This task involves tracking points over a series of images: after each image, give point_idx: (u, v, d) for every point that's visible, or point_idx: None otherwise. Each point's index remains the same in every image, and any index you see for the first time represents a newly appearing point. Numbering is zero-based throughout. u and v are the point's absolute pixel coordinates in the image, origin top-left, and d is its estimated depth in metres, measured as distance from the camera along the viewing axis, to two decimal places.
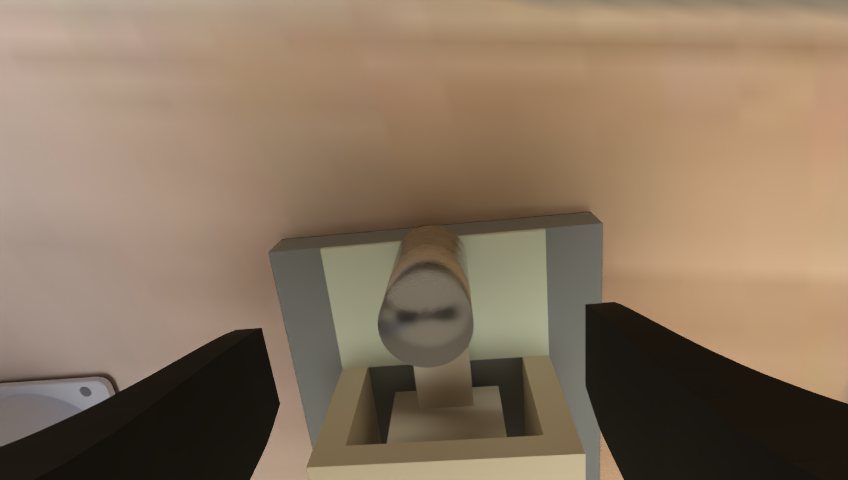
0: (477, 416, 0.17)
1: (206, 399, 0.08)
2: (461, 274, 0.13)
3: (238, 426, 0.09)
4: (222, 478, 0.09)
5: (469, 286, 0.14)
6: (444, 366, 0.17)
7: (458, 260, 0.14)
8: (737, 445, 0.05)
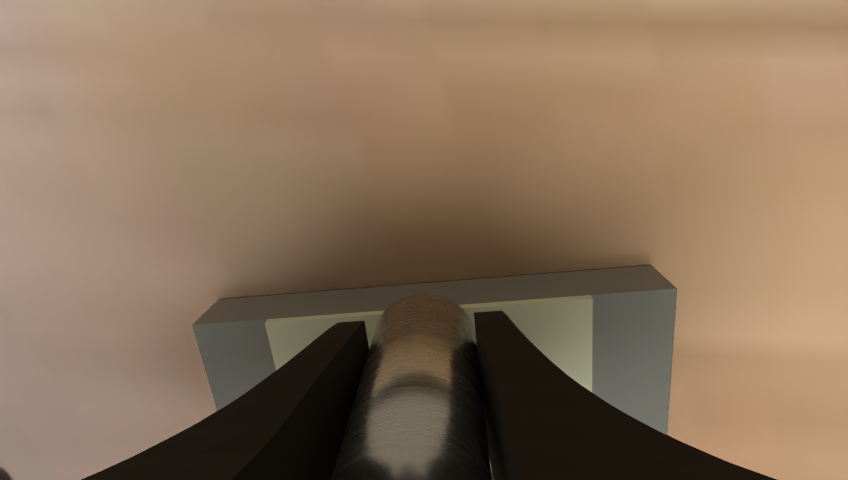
0: None
1: (335, 391, 0.08)
2: (472, 403, 0.08)
3: None
4: None
5: (484, 414, 0.08)
6: None
7: (466, 368, 0.09)
8: (510, 456, 0.05)
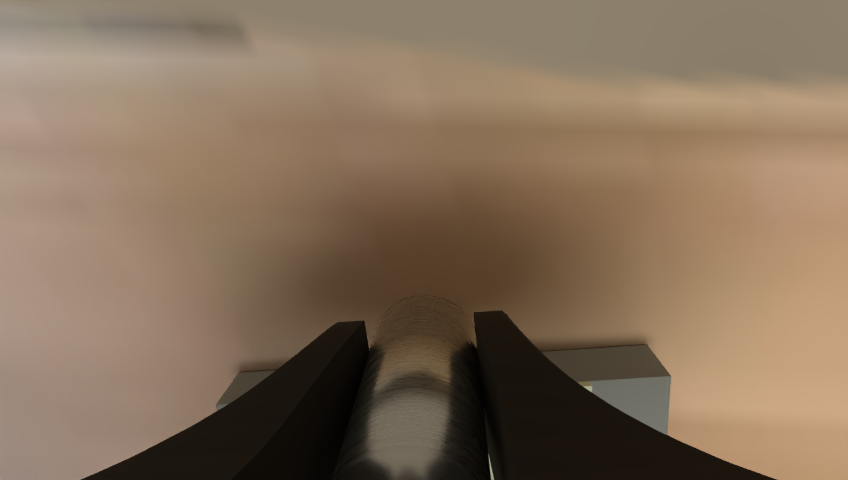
0: None
1: (335, 391, 0.08)
2: (471, 405, 0.08)
3: None
4: None
5: None
6: None
7: (466, 370, 0.09)
8: (509, 455, 0.05)
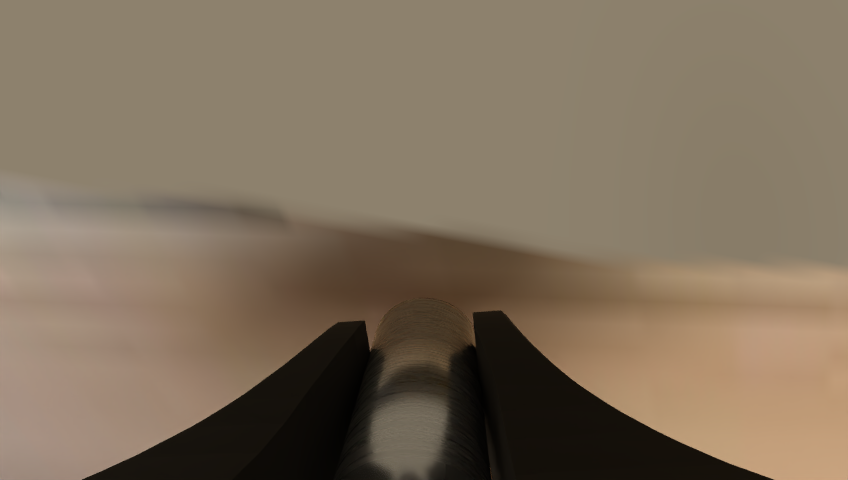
0: None
1: (336, 391, 0.08)
2: (472, 408, 0.08)
3: None
4: None
5: (484, 419, 0.08)
6: None
7: (466, 373, 0.09)
8: (508, 456, 0.05)
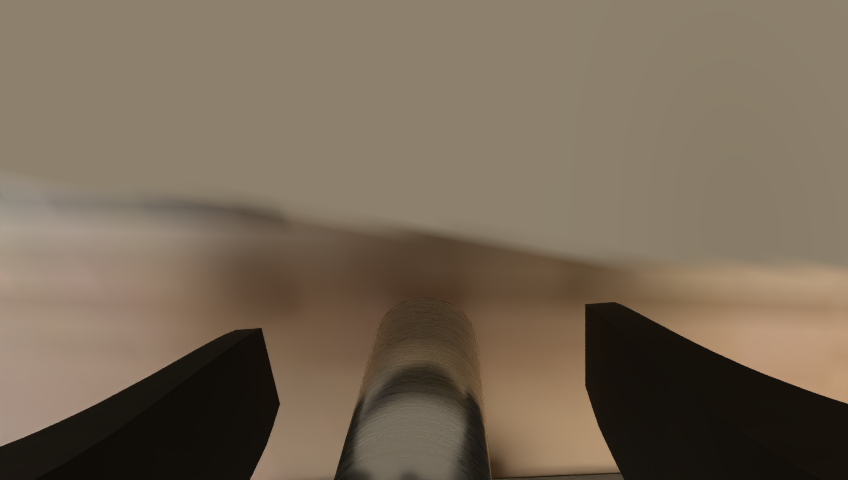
0: None
1: (206, 399, 0.08)
2: (472, 409, 0.08)
3: (238, 426, 0.09)
4: (222, 478, 0.09)
5: (484, 419, 0.08)
6: None
7: (466, 373, 0.09)
8: (737, 445, 0.05)
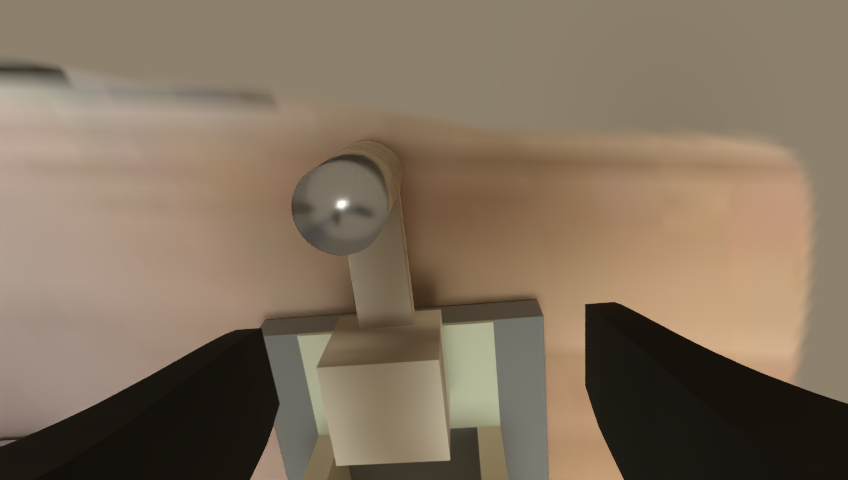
0: (414, 332, 0.17)
1: (206, 399, 0.08)
2: (381, 170, 0.13)
3: (238, 426, 0.09)
4: (222, 478, 0.09)
5: (392, 186, 0.14)
6: (383, 283, 0.17)
7: (383, 162, 0.14)
8: (737, 444, 0.05)
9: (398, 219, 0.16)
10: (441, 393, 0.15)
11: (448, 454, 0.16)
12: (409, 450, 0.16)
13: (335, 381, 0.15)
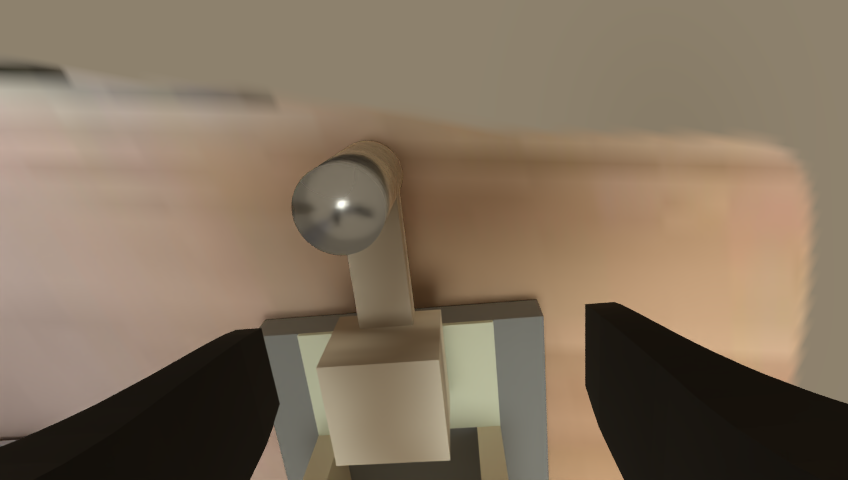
0: (414, 332, 0.17)
1: (206, 399, 0.08)
2: (381, 170, 0.13)
3: (238, 426, 0.09)
4: (222, 478, 0.09)
5: (392, 186, 0.14)
6: (383, 283, 0.17)
7: (383, 162, 0.14)
8: (737, 444, 0.05)
9: (398, 219, 0.16)
10: (441, 393, 0.15)
11: (448, 454, 0.16)
12: (409, 450, 0.16)
13: (335, 381, 0.15)
